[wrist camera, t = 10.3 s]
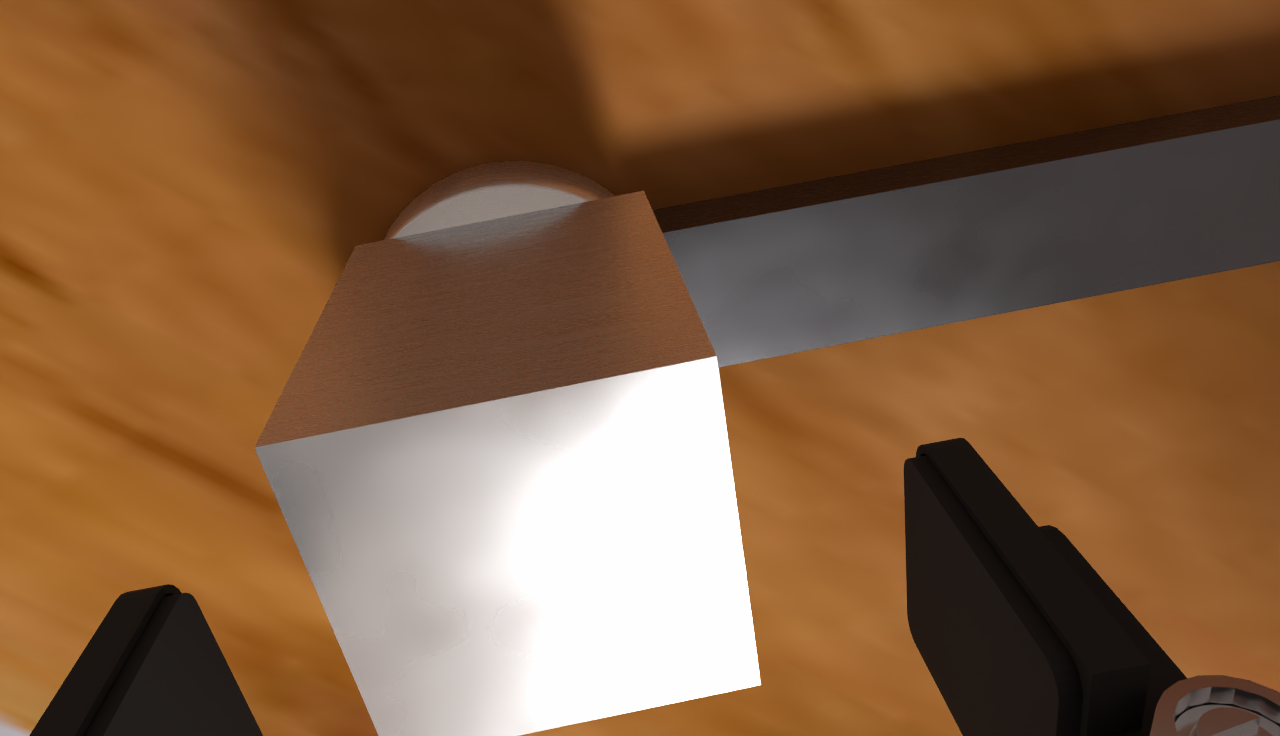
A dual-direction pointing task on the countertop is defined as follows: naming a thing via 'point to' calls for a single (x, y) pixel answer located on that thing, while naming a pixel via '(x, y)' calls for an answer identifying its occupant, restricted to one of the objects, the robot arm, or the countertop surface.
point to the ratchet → (940, 228)
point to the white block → (517, 476)
